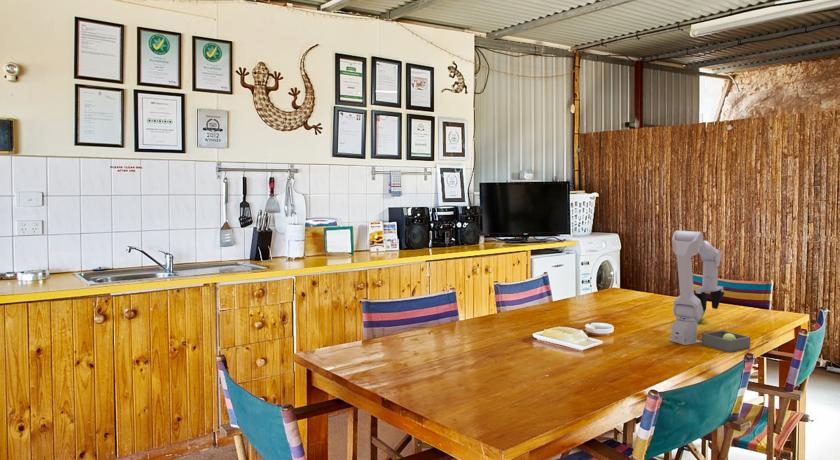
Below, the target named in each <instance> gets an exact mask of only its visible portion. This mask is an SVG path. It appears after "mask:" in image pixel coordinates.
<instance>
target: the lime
mask: <svg viewBox="0 0 840 460" xmlns="http://www.w3.org/2000/svg"><path fill="white" fill-rule="evenodd" d="M723 339H727V340H733V339H736V337H735V336H734V335H733V334H730V333H727V334H725V335H724V336H723Z"/></svg>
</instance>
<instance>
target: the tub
mask: <svg viewBox="0 0 840 460" xmlns="http://www.w3.org/2000/svg"><path fill="white" fill-rule="evenodd" d="M727 333H730V334H733V335H734V336H735V337H736V339H733V340H727V339H723V336H724V335H725V334H727ZM700 341H701V343H700V344H701V346H703V347H707V348H711V349H713V350H718V351H722V352H726V353H728V354H729V353H733V352H734V353H735V352H739V351H745V350H746V351H747V350H751V336H747V335H743V334H738V333H734V332H731V331H727V330H722V329H721V330H714V331H710V332H709V331H708V332H704V333H701V339H700Z"/></svg>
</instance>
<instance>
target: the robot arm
mask: <svg viewBox="0 0 840 460" xmlns="http://www.w3.org/2000/svg"><path fill="white" fill-rule="evenodd" d="M671 244H672V245H671V246H672V250H673V251H672V252H673V253H674V254H675V255H676V263H677V273H678V274H677V275H678V287H679V295H678V296H677V297H675V298H674V300H673V306H672V313H673V315H674V316H675V319H676V320H675V321H673V322H672V323H671V326H670V328H671V329H670V330H671V331H670V338H669V339H668V341H670V342H673V343H677V344H680V345H684V346H690V345H695V344H701V340H699V339H697V337H698V324H697V320H700V319H701V317H702V315H703V311H705V312H706V310H707V306H706V302H707V303H708V299H709V297H710V299H711V308H712V309H715V310H718V308H719V306H720V305H719V304H720V302H721V299H722V298H723V297H724V295H725V291H724V286H723V285H722V286H721V285H718V283H719V282H718V281H719V280H718V279H719V277H718V276H719V267H720V266H721V265H720V264H721V260H722V251H721V250H720V249H718V248H715V247H714V246H713V245H712V244H711V243H710V241H709V240H704V235H703V232H702V231H690V230H689V231H688V230H678V229H677V230H675V231H674V233H673V234H672V238H671ZM698 254H699V256H700V259H701V261H702V284H701V285H702V286H700V287H697V288H694V279H693V267H692V266H693V265H692V257H694V256H696V255H698ZM694 289H695V290H694ZM723 291H724V292H723ZM706 293H710V294H706ZM705 309H706V310H705ZM703 316H704V315H703ZM702 318H703V317H702Z"/></svg>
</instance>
